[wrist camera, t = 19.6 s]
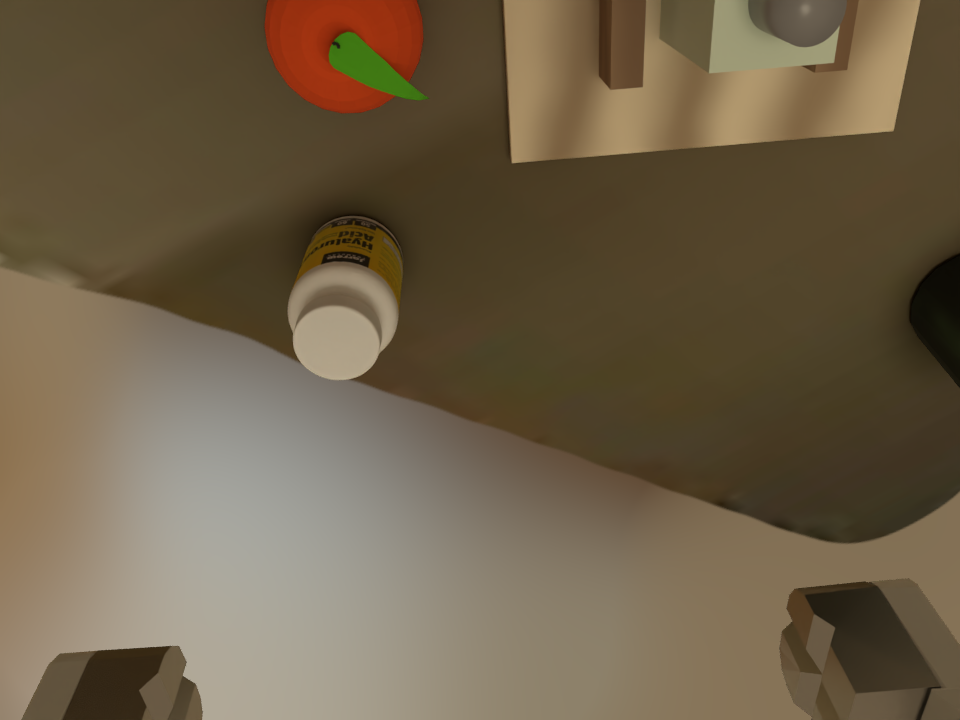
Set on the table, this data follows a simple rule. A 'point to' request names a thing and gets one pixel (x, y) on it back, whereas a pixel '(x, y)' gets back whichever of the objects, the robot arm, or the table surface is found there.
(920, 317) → the potion bottle
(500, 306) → the table surface
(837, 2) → the sage bottle
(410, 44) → the clementine
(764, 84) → the u rest
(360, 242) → the supplement bottle
